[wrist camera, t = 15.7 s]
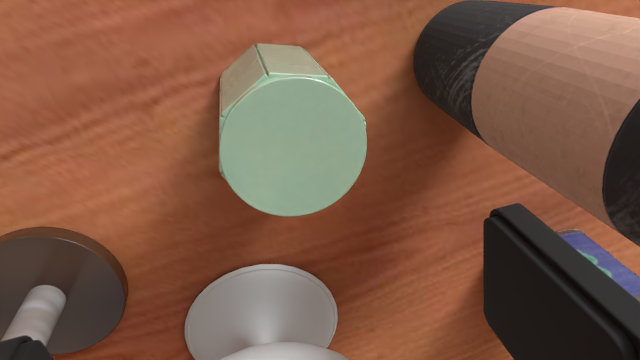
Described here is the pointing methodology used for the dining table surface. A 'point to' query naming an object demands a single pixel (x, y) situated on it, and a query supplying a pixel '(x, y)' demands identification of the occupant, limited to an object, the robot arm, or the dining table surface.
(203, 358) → the chalice
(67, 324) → the towel holder
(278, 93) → the green cup
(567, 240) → the flask
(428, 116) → the dining table surface
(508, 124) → the travel mug
